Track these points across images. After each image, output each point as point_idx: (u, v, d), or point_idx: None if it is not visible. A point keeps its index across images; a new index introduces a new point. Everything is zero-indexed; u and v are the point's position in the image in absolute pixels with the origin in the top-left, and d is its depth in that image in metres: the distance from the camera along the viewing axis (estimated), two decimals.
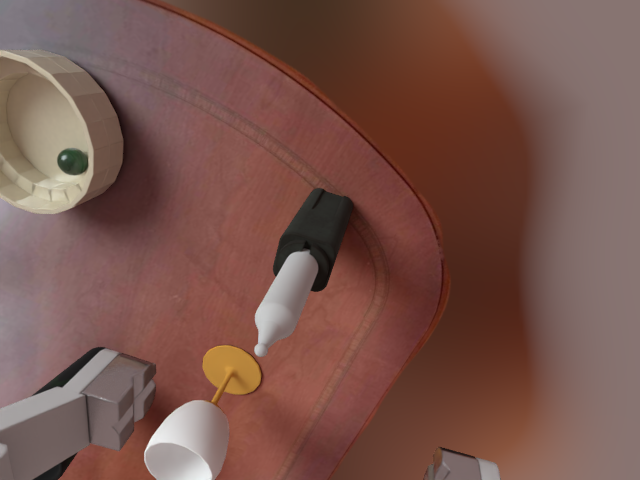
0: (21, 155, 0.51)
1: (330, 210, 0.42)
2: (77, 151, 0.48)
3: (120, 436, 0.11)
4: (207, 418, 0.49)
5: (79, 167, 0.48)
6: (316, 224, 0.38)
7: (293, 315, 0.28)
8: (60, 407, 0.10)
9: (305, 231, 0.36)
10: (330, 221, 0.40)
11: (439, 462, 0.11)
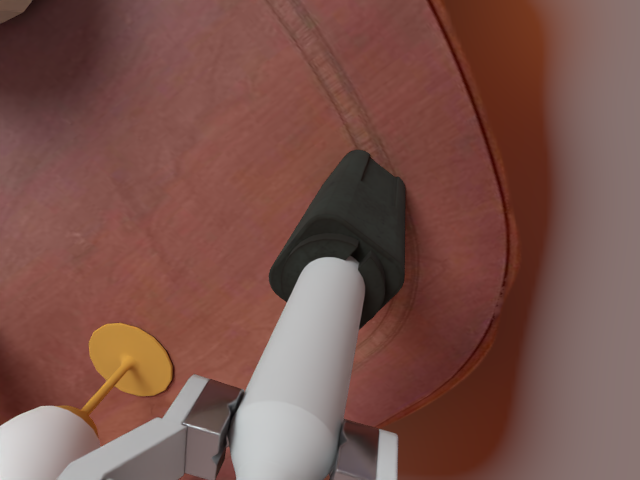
0: None
1: (384, 193, 0.25)
2: None
3: (217, 466, 0.10)
4: (65, 448, 0.29)
5: None
6: (372, 214, 0.20)
7: (336, 451, 0.11)
8: (165, 440, 0.09)
9: (358, 222, 0.18)
10: (391, 215, 0.22)
11: (341, 432, 0.11)
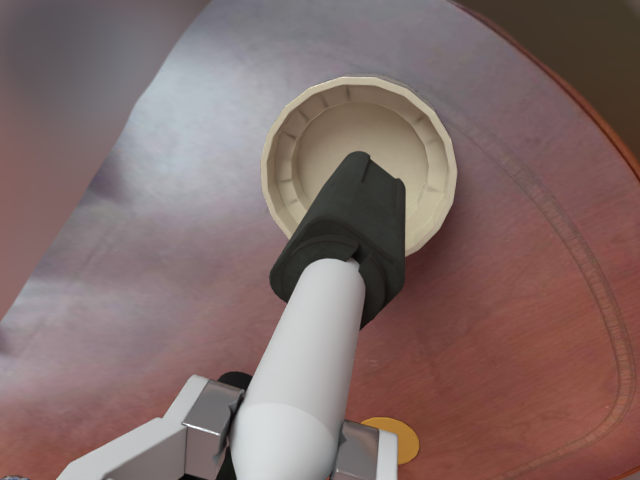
0: (297, 173, 0.43)
1: (385, 195, 0.25)
2: None
3: (217, 466, 0.10)
4: None
5: None
6: (373, 215, 0.20)
7: (336, 452, 0.11)
8: (165, 439, 0.09)
9: (359, 224, 0.18)
10: (391, 216, 0.22)
11: (341, 432, 0.11)
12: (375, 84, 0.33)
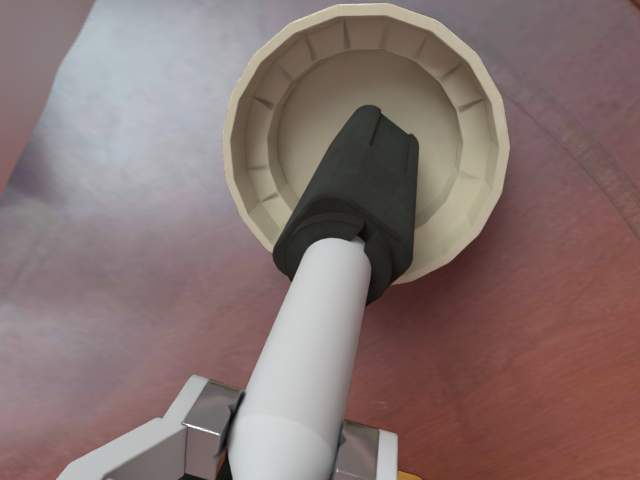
0: (277, 158, 0.31)
1: (395, 157, 0.23)
2: None
3: (217, 466, 0.10)
4: None
5: None
6: (380, 185, 0.19)
7: (333, 460, 0.11)
8: (165, 440, 0.09)
9: (365, 199, 0.17)
10: (401, 184, 0.20)
11: (341, 432, 0.11)
12: (388, 14, 0.22)
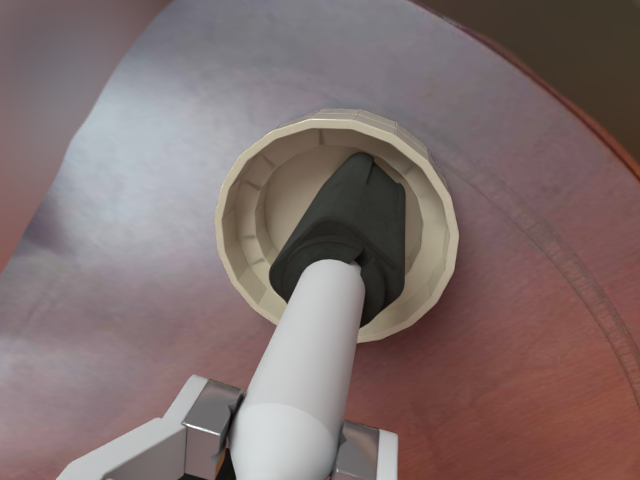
0: (265, 225, 0.35)
1: (387, 199, 0.25)
2: None
3: (217, 466, 0.10)
4: None
5: None
6: (376, 219, 0.20)
7: (336, 456, 0.11)
8: (165, 439, 0.09)
9: (364, 227, 0.18)
10: (393, 221, 0.22)
11: (341, 432, 0.11)
12: (353, 128, 0.26)
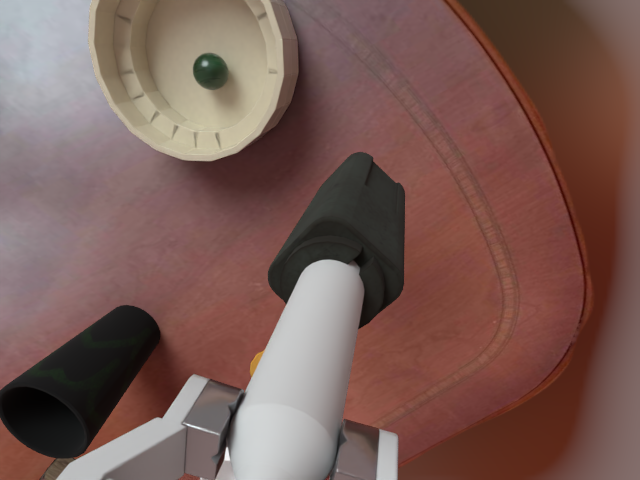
0: (148, 69, 0.41)
1: (386, 199, 0.25)
2: (227, 68, 0.38)
3: (217, 466, 0.10)
4: None
5: (209, 58, 0.37)
6: (375, 219, 0.20)
7: (334, 457, 0.11)
8: (165, 439, 0.09)
9: (363, 227, 0.18)
10: (392, 221, 0.22)
11: (341, 432, 0.11)
12: None
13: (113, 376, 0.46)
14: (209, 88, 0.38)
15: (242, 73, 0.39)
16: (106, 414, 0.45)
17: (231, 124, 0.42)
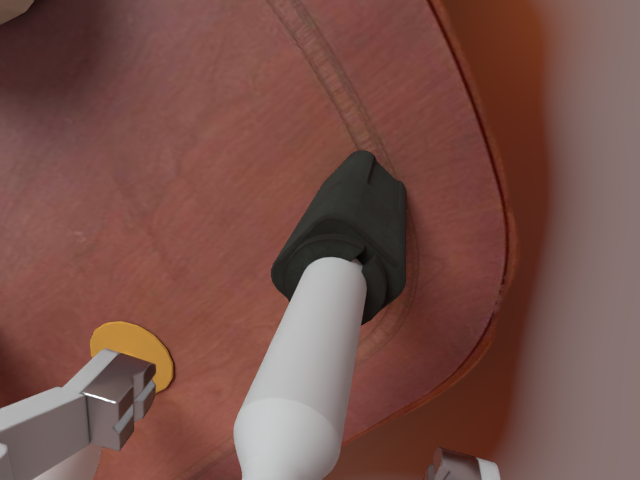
0: None
1: (388, 197, 0.25)
2: None
3: (120, 436, 0.11)
4: None
5: None
6: (378, 217, 0.20)
7: (339, 450, 0.11)
8: (60, 407, 0.10)
9: (365, 225, 0.19)
10: (394, 219, 0.22)
11: (439, 462, 0.11)
12: None
13: None
14: None
15: None
16: None
17: None
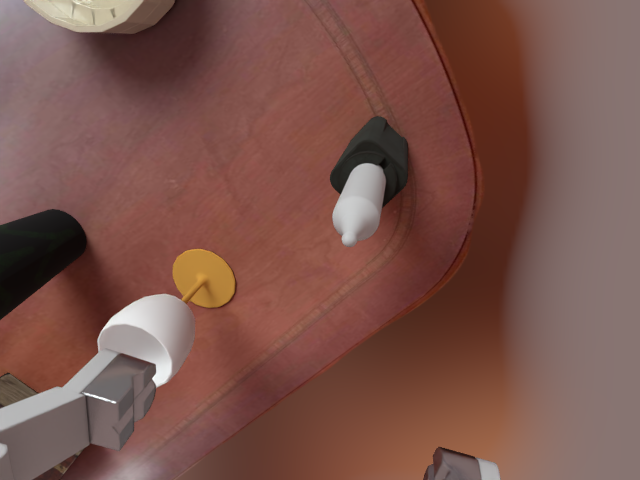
0: None
1: (396, 142, 0.39)
2: None
3: (120, 436, 0.11)
4: (180, 315, 0.44)
5: None
6: (391, 147, 0.35)
7: (379, 220, 0.25)
8: (60, 407, 0.10)
9: (385, 147, 0.33)
10: (400, 152, 0.37)
11: (439, 461, 0.11)
12: None
13: (24, 260, 0.47)
14: None
15: None
16: (15, 294, 0.46)
17: None
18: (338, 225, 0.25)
